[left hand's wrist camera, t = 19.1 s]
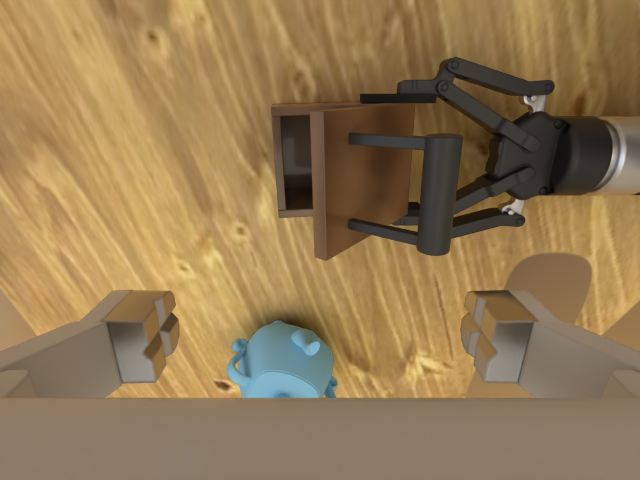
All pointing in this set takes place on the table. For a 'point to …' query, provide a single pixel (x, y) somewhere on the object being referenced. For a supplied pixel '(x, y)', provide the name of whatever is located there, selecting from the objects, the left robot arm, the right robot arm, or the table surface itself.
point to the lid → (379, 178)
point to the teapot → (283, 364)
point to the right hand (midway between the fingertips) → (359, 156)
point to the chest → (297, 154)
